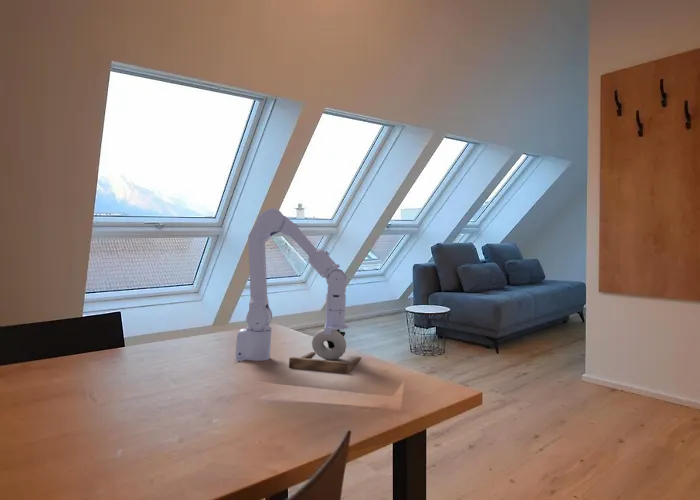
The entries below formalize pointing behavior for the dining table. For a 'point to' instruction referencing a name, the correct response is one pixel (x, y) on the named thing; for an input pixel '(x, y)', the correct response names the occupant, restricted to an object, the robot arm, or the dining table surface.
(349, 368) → the guide track
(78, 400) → the dining table surface
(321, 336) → the donut
